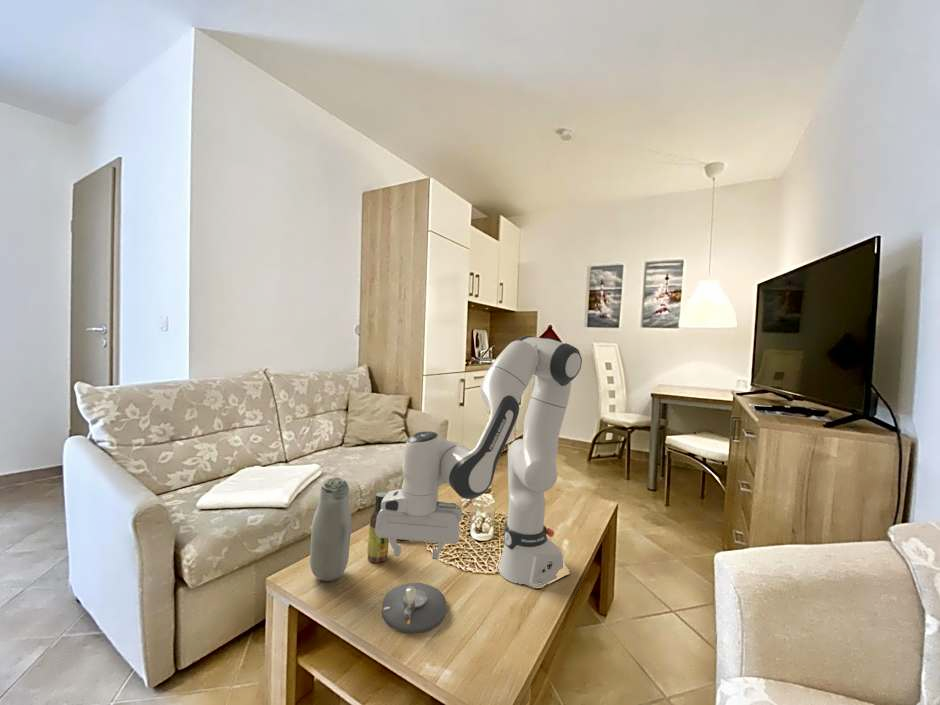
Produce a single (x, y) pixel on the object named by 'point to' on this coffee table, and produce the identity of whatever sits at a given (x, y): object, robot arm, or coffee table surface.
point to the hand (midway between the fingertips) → (416, 556)
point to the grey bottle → (331, 531)
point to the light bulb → (413, 600)
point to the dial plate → (421, 617)
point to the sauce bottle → (376, 544)
